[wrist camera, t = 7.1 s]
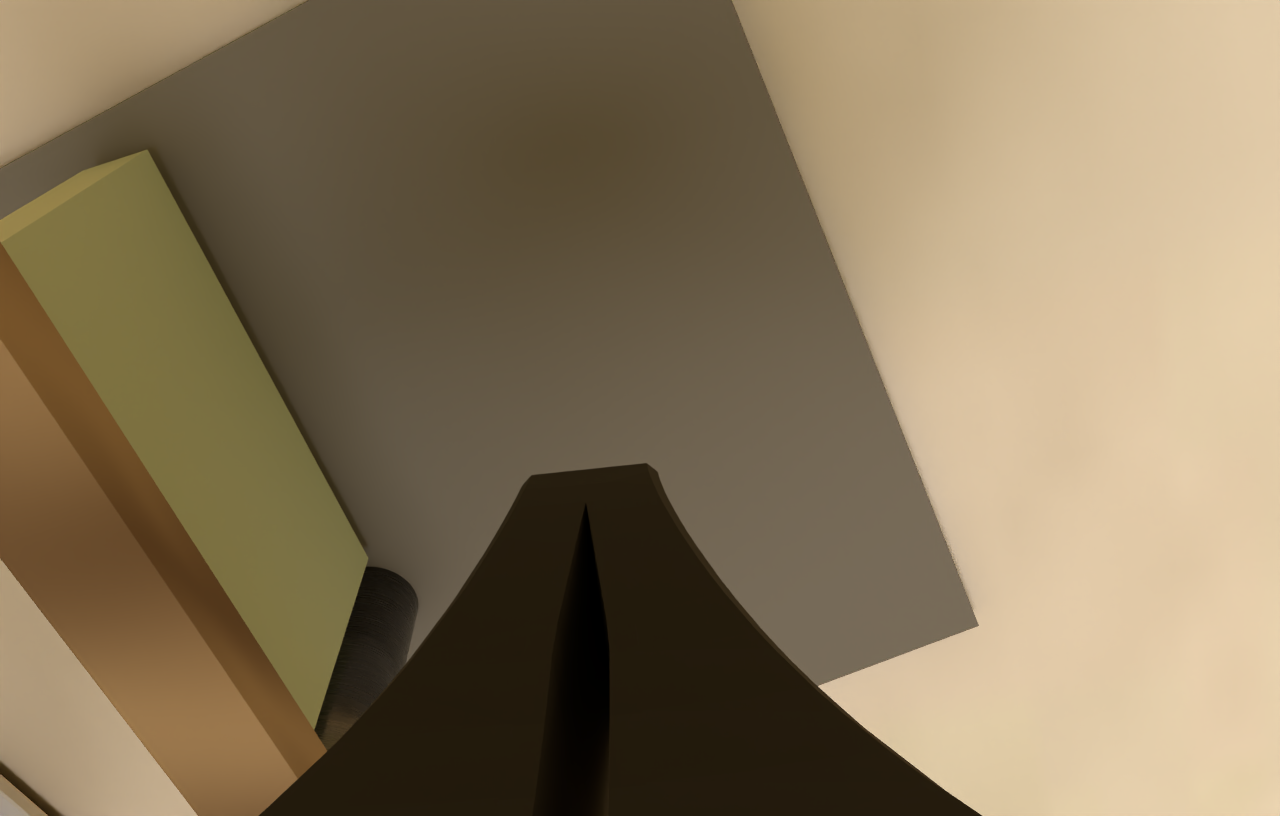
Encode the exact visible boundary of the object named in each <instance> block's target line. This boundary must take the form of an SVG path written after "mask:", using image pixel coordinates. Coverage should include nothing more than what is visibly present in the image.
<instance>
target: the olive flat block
mask: <svg viewBox="0 0 1280 816" xmlns="http://www.w3.org/2000/svg"><path fill="white" fill-rule="evenodd" d="M0 558H1V560H2V561H3V562H4V564H5V565H6V566H7V567H8V569H9V570H10V571H11V573H12V574H13V575H14V577H15V578H16V579H17V581H18V582H19V583H20V584H21V586H22V587H23V588H24V590H25V591H26V592H27V594H28V595H29V596H30V597H31V599H32V600H33V601H34V603H35V604H36V605H37V607H38V608H39V609H40V610H41V612H42V613H43V614H44V616H45V617H46V618H47V620H48V621H49V622H50V623H51V625H52V626H53V627H54V629H55V630H56V631H57V633H58V634H59V635H60V637H61V638H62V639H63V640H64V642H65V643H66V644H67V646H68V647H69V648H70V650H71V651H72V652H73V653H74V655H75V656H76V657H77V659H78V660H79V661H80V663H81V664H82V665H83V666H84V668H85V669H86V670H87V672H88V673H89V674H90V676H91V677H92V678H93V679H94V681H95V682H96V683H97V685H98V686H99V687H100V689H101V690H102V691H103V692H104V694H105V695H106V696H107V698H108V699H109V700H110V702H111V703H112V704H113V706H114V707H115V708H116V709H117V711H118V712H119V713H120V715H121V716H122V717H123V719H124V720H125V721H126V722H127V724H128V725H129V726H130V728H131V729H132V730H133V732H134V733H135V734H136V735H137V737H138V738H139V739H140V741H141V742H142V743H143V745H144V746H145V747H146V748H147V750H148V751H149V752H150V754H151V755H152V756H153V758H154V759H155V760H156V762H157V763H158V764H159V765H160V767H161V768H162V769H163V771H164V772H165V773H166V775H167V776H168V777H169V778H170V780H171V781H172V782H173V784H174V785H175V786H176V788H177V789H178V790H179V791H180V793H181V794H182V795H183V797H184V798H185V799H186V801H187V802H188V803H189V804H190V806H191V807H192V808H193V810H194V811H195V812H196V814H197V815H198V816H259V815H260V814H261V813H262V812H263V811H264V810H265V809H266V808H267V807H269V806H270V805H271V804H272V803H273V802H274V801H275V800H276V799H277V798H278V797H279V796H280V795H281V794H282V793H283V792H284V791H286V790H287V789H288V788H289V787H290V786H291V785H292V784H293V783H294V782H295V781H296V780H297V779H298V778H299V777H300V776H302V775H303V774H304V773H305V772H306V771H307V770H308V769H309V768H310V767H311V766H312V765H313V764H314V763H315V762H316V761H318V760H319V759H320V758H321V757H322V756H323V755H324V754H325V753H326V752H327V750H326V748H325V746H324V745H323V743H322V742H321V740H320V739H319V737H318V735H317V734H316V732H315V731H314V729H315V726H316V723H317V720H318V716H319V713H320V710H321V707H322V704H323V701H324V697H325V694H326V691H327V688H328V685H329V682H330V679H331V675H332V672H333V669H334V666H335V663H336V660H337V656H338V653H339V650H340V647H341V644H342V641H343V637H344V634H345V631H346V628H347V625H348V622H349V618H350V615H351V612H352V609H353V606H354V603H355V599H356V596H357V593H358V590H359V587H360V584H361V581H362V577H363V574H364V571H365V568H366V565H367V562H368V557H367V555H366V553H365V551H364V549H363V547H362V546H361V544H360V542H359V540H358V538H357V536H356V534H355V533H354V531H353V529H352V527H351V525H350V523H349V522H348V520H347V518H346V516H345V514H344V512H343V510H342V509H341V507H340V505H339V503H338V501H337V499H336V497H335V496H334V494H333V492H332V490H331V488H330V486H329V485H328V483H327V481H326V479H325V477H324V475H323V473H322V472H321V470H320V468H319V466H318V464H317V462H316V460H315V459H314V457H313V455H312V453H311V451H310V449H309V448H308V446H307V444H306V442H305V440H304V438H303V436H302V435H301V433H300V431H299V429H298V427H297V425H296V423H295V422H294V420H293V418H292V416H291V414H290V412H289V411H288V409H287V407H286V405H285V403H284V401H283V399H282V398H281V396H280V394H279V392H278V390H277V388H276V386H275V385H274V383H273V381H272V379H271V377H270V375H269V374H268V372H267V370H266V368H265V366H264V364H263V362H262V361H261V359H260V357H259V355H258V353H257V351H256V349H255V348H254V346H253V344H252V342H251V340H250V338H249V336H248V335H247V333H246V331H245V329H244V327H243V325H242V324H241V322H240V320H239V318H238V316H237V314H236V312H235V311H234V309H233V307H232V305H231V303H230V301H229V299H228V298H227V296H226V294H225V292H224V290H223V288H222V287H221V285H220V283H219V281H218V279H217V277H216V275H215V274H214V272H213V270H212V268H211V266H210V264H209V262H208V261H207V259H206V257H205V255H204V253H203V251H202V250H201V248H200V246H199V244H198V242H197V240H196V238H195V237H194V235H193V233H192V231H191V229H190V227H189V225H188V224H187V222H186V220H185V218H184V216H183V214H182V213H181V211H180V209H179V207H178V205H177V203H176V201H175V200H174V198H173V196H172V194H171V192H170V190H169V188H168V187H167V185H166V183H165V181H164V179H163V177H162V176H161V174H160V172H159V170H158V168H157V166H156V164H155V163H154V161H153V159H152V157H151V155H150V153H149V151H148V150H144V151H141V152H138V153H135V154H132V155H129V156H126V157H123V158H120V159H117V160H114V161H110V162H107V163H104V164H101V165H98V166H95V167H92V168H89V169H86V170H83V171H81V172H80V173H78V174H76V175H75V176H73V177H71V178H70V179H68V180H66V181H65V182H63V183H61V184H60V185H58V186H56V187H55V188H53V189H51V190H49V191H48V192H46V193H44V194H43V195H41V196H39V197H38V198H36V199H34V200H33V201H31V202H29V203H28V204H26V205H24V206H23V207H21V208H19V209H18V210H16V211H14V212H13V213H11V214H9V215H8V216H6V217H4V218H3V219H1V220H0Z"/></svg>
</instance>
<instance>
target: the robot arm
mask: <svg viewBox="0 0 1280 816" xmlns="http://www.w3.org/2000/svg"><path fill="white" fill-rule="evenodd" d="M0 816H48V815H47V814H46V813H45V812H44V811H42V810H41V809H40V808H39V807H38V806H37V805H35V804H34V803H33V802H32V801H31V800H30V799H29V798H27V797H26V796H25V795H24V794H23V793H22V792H20V791H19V790H18V789H17V788H16V787H15V786H14V785H12V784H11V783H10V782H9V781H8V780H7V779H5V778H4V777H3V776H2V775H1V774H0ZM259 816H982V815H980V814H979V813H977V812H976V811H974V810H973V809H972V808H970V807H969V806H967V805H966V804H964V803H963V802H961V801H960V800H958V799H957V798H955V797H954V796H952V795H951V794H949V793H948V792H947V791H945V790H944V789H943V788H941V787H940V786H939V785H937V784H936V783H935V782H934V781H932V780H931V779H930V778H928V777H927V776H926V775H925V774H923V773H922V772H921V771H919V770H918V769H917V768H915V767H914V766H913V765H912V764H910V763H909V762H908V761H906V760H905V759H904V758H903V757H901V756H900V755H899V754H897V753H896V752H895V751H894V750H892V749H891V748H890V747H888V746H887V745H886V744H884V743H883V742H882V741H881V740H879V739H878V738H877V737H875V736H874V735H873V734H872V733H870V732H869V731H868V730H866V729H865V728H864V727H863V726H862V725H860V724H859V723H858V722H857V721H856V720H855V719H853V718H852V717H851V716H850V715H849V714H848V713H847V712H846V711H844V710H843V709H842V708H841V707H840V706H839V705H838V704H837V703H836V702H834V701H833V700H832V699H831V698H830V697H829V696H828V695H827V694H825V693H824V692H823V691H822V690H821V689H820V688H819V687H818V686H817V685H816V684H815V683H814V682H813V681H812V680H811V679H810V678H809V677H808V676H807V675H806V674H805V673H803V672H802V671H801V670H800V669H799V668H798V667H797V666H796V665H795V664H794V663H793V662H792V661H791V660H790V659H789V658H788V657H787V656H786V655H785V654H784V652H783V651H782V650H781V649H780V648H779V647H778V646H777V645H776V644H775V643H774V642H773V641H772V640H771V639H770V638H769V636H768V635H767V634H766V633H765V632H764V631H763V630H762V629H761V628H760V626H759V625H758V624H757V623H756V622H755V621H754V619H753V618H752V617H751V616H750V615H749V613H748V612H747V611H746V610H745V609H744V608H743V606H742V605H741V604H740V603H739V602H738V601H737V599H736V598H735V597H734V596H733V594H732V593H731V592H730V590H729V589H728V588H727V587H726V585H725V584H724V583H723V582H722V580H721V579H720V578H719V576H718V575H717V573H716V572H715V571H714V569H713V568H712V566H711V565H710V564H709V562H708V561H707V560H706V558H705V557H704V555H703V554H702V553H701V551H700V550H699V548H698V547H697V546H696V544H695V543H694V541H693V540H692V538H691V536H690V535H689V533H688V532H687V530H686V529H685V527H684V525H683V524H682V522H681V520H680V519H679V517H678V515H677V514H676V512H675V510H674V508H673V506H672V505H671V503H670V501H669V499H668V497H667V495H666V493H665V491H664V488H663V486H662V483H661V481H660V478H659V474H658V471H656V470H655V469H654V468H652V467H651V466H650V465H649V464H647V463H642V464H632V465H622V466H613V467H603V468H594V469H584V470H574V471H565V472H555V473H546V474H536V475H531V476H530V477H529V478H528V479H527V481H526V482H525V483H524V484H523V485H522V487H521V489H520V491H519V493H518V495H517V497H516V499H515V501H514V502H513V504H512V506H511V508H510V510H509V512H508V514H507V515H506V517H505V519H504V521H503V522H502V524H501V526H500V528H499V529H498V531H497V533H496V534H495V536H494V538H493V539H492V541H491V543H490V544H489V546H488V548H487V550H486V551H485V553H484V554H483V556H482V557H481V559H480V560H479V562H478V564H477V565H476V567H475V568H474V570H473V571H472V573H471V574H470V576H469V577H468V579H467V580H466V582H465V583H464V585H463V587H462V588H461V590H460V591H459V593H458V594H457V596H456V597H455V599H454V600H453V601H452V603H451V604H450V606H449V607H448V609H447V610H446V611H445V613H444V614H443V615H442V617H441V618H440V619H439V621H438V622H437V623H436V625H435V626H434V627H433V629H432V630H431V631H430V633H429V634H428V635H427V637H426V638H425V639H424V641H423V642H422V643H421V645H420V646H419V647H418V649H417V650H416V651H415V653H414V654H413V655H412V657H411V658H410V659H409V660H408V662H407V663H406V664H405V665H404V667H403V668H402V669H401V670H400V671H399V673H398V674H397V675H396V676H395V677H394V679H393V680H392V681H391V682H390V683H389V685H388V686H387V687H386V688H385V689H384V690H383V692H382V693H381V694H380V695H379V696H378V697H377V699H376V700H375V701H374V702H373V703H372V704H371V705H370V706H369V707H368V709H367V710H366V711H365V712H364V713H363V714H362V715H361V716H360V717H359V718H358V719H357V721H356V722H355V723H354V724H353V725H352V726H351V727H350V728H349V729H348V730H347V731H346V733H345V734H344V735H343V736H342V737H341V738H340V739H339V740H338V741H337V742H336V743H335V744H334V745H333V746H332V747H331V748H330V749H329V750H328V751H327V752H326V753H325V754H324V755H323V756H322V757H321V758H320V759H319V760H318V761H316V762H315V763H314V764H313V765H312V766H311V767H310V768H309V769H308V770H307V771H306V772H305V773H304V774H303V775H302V776H300V777H299V778H298V779H297V780H296V781H295V782H294V783H293V784H292V785H291V786H290V787H289V788H288V789H287V790H286V791H284V792H283V793H282V794H281V795H280V796H279V797H278V798H277V799H276V800H275V801H274V802H273V803H272V804H271V805H270V806H269V807H267V808H266V809H265V810H264V811H263V812H262V813H261V814H260V815H259Z"/></svg>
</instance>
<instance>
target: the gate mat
mask: <svg viewBox="0 0 1280 816" xmlns="http://www.w3.org/2000/svg"><path fill="white" fill-rule="evenodd" d="M144 150H148V151H149V153H150V155H151V157H152V159H153V161H154V163H155V164H156V166H157V168H158V170H159V172H160V174H161V176H162V177H163V179H164V181H165V183H166V185H167V187H168V188H169V190H170V192H171V194H172V196H173V198H174V200H175V201H176V203H177V205H178V207H179V209H180V211H181V213H182V214H183V216H184V218H185V220H186V222H187V224H188V225H189V227H190V229H191V231H192V233H193V235H194V237H195V238H196V240H197V242H198V244H199V246H200V248H201V250H202V251H203V253H204V255H205V257H206V259H207V261H208V262H209V264H210V266H211V268H212V270H213V272H214V274H215V275H216V277H217V279H218V281H219V283H220V285H221V287H222V288H223V290H224V292H225V294H226V296H227V298H228V299H229V301H230V303H231V305H232V307H233V309H234V311H235V312H236V314H237V316H238V318H239V320H240V322H241V324H242V325H243V327H244V329H245V331H246V333H247V335H248V336H249V338H250V340H251V342H252V344H253V346H254V348H255V349H256V351H257V353H258V355H259V357H260V359H261V361H262V362H263V364H264V366H265V368H266V370H267V372H268V374H269V375H270V377H271V379H272V381H273V383H274V385H275V386H276V388H277V390H278V392H279V394H280V396H281V398H282V399H283V401H284V403H285V405H286V407H287V409H288V411H289V412H290V414H291V416H292V418H293V420H294V422H295V423H296V425H297V427H298V429H299V431H300V433H301V435H302V436H303V438H304V440H305V442H306V444H307V446H308V448H309V449H310V451H311V453H312V455H313V457H314V459H315V460H316V462H317V464H318V466H319V468H320V470H321V472H322V473H323V475H324V477H325V479H326V481H327V483H328V485H329V486H330V488H331V490H332V492H333V494H334V496H335V497H336V499H337V501H338V503H339V505H340V507H341V509H342V510H343V512H344V514H345V516H346V518H347V520H348V522H349V523H350V525H351V527H352V529H353V531H354V533H355V534H356V536H357V538H358V540H359V542H360V544H361V546H362V547H363V549H364V551H365V553H366V555H367V557H368V562H367V565H366V568H365V571H364V574H363V577H362V581H361V584H360V587H359V590H358V593H357V596H356V599H355V603H354V606H353V609H352V612H351V615H350V618H349V622H348V625H347V628H346V631H345V634H344V637H343V641H342V644H341V647H340V650H339V653H338V656H337V660H336V663H335V666H334V669H333V672H332V675H331V679H330V682H329V685H328V688H327V691H326V694H325V697H324V701H323V704H322V707H321V710H320V713H319V716H318V720H317V723H316V726H315V729H314V731H315V732H316V734H317V735H318V737H319V739H320V740H321V742H322V743H323V745H324V746H325V748H326V750H327V751H328V750H329V749H330V748H331V747H332V746H333V745H334V744H335V743H336V742H337V741H338V740H339V739H340V738H341V737H342V736H343V735H344V734H345V733H346V731H347V730H348V729H349V728H350V727H351V726H352V725H353V724H354V723H355V722H356V721H357V719H358V718H359V717H360V716H361V715H362V714H363V713H364V712H365V711H366V710H367V709H368V707H369V706H370V705H371V704H372V703H373V702H374V701H375V700H376V699H377V697H378V696H379V695H380V694H381V693H382V692H383V690H384V689H385V688H386V687H387V686H388V685H389V683H390V682H391V681H392V680H393V679H394V677H395V676H396V675H397V674H398V673H399V671H400V670H401V669H402V668H403V667H404V665H405V664H406V663H407V662H408V660H409V659H410V658H411V657H412V655H413V654H414V653H415V651H416V650H417V649H418V647H419V646H420V645H421V643H422V642H423V641H424V639H425V638H426V637H427V635H428V634H429V633H430V631H431V630H432V629H433V627H434V626H435V625H436V623H437V622H438V621H439V619H440V618H441V617H442V615H443V614H444V613H445V611H446V610H447V609H448V607H449V606H450V604H451V603H452V601H453V600H454V599H455V597H456V596H457V594H458V593H459V591H460V590H461V588H462V587H463V585H464V583H465V582H466V580H467V579H468V577H469V576H470V574H471V573H472V571H473V570H474V568H475V567H476V565H477V564H478V562H479V560H480V559H481V557H482V556H483V554H484V553H485V551H486V550H487V548H488V546H489V544H490V543H491V541H492V539H493V538H494V536H495V534H496V533H497V531H498V529H499V528H500V526H501V524H502V522H503V521H504V519H505V517H506V515H507V514H508V512H509V510H510V508H511V506H512V504H513V502H514V501H515V499H516V497H517V495H518V493H519V491H520V489H521V487H522V485H523V484H524V483H525V482H526V481H527V479H528V478H529V477H530V476H531V475H536V474H546V473H555V472H565V471H574V470H584V469H594V468H603V467H613V466H622V465H632V464H642V463H647V464H649V465H650V466H651V467H652V468H654V469H655V470H656V471H658V474H659V478H660V481H661V483H662V486H663V488H664V491H665V493H666V495H667V497H668V499H669V501H670V503H671V505H672V506H673V508H674V510H675V512H676V514H677V515H678V517H679V519H680V520H681V522H682V524H683V525H684V527H685V529H686V530H687V532H688V533H689V535H690V536H691V538H692V540H693V541H694V543H695V544H696V546H697V547H698V548H699V550H700V551H701V553H702V554H703V555H704V557H705V558H706V560H707V561H708V562H709V564H710V565H711V566H712V568H713V569H714V571H715V572H716V573H717V575H718V576H719V578H720V579H721V580H722V582H723V583H724V584H725V585H726V587H727V588H728V589H729V590H730V592H731V593H732V594H733V596H734V597H735V598H736V599H737V601H738V602H739V603H740V604H741V605H742V606H743V608H744V609H745V610H746V611H747V612H748V613H749V615H750V616H751V617H752V618H753V619H754V621H755V622H756V623H757V624H758V625H759V626H760V628H761V629H762V630H763V631H764V632H765V633H766V634H767V635H768V636H769V638H770V639H771V640H772V641H773V642H774V643H775V644H776V645H777V646H778V647H779V648H780V649H781V650H782V651H783V652H784V654H785V655H786V656H787V657H788V658H789V659H790V660H791V661H792V662H793V663H794V664H795V665H796V666H797V667H798V668H799V669H800V670H801V671H802V672H803V673H805V674H806V675H807V676H808V677H809V678H810V679H811V680H812V681H813V682H814V683H815V684H816V685H817V686H819V685H821V684H824V683H827V682H829V681H832V680H835V679H837V678H840V677H843V676H845V675H848V674H851V673H853V672H856V671H859V670H861V669H864V668H867V667H870V666H872V665H875V664H878V663H880V662H883V661H886V660H888V659H891V658H894V657H896V656H899V655H902V654H904V653H907V652H910V651H912V650H915V649H918V648H920V647H923V646H926V645H928V644H931V643H934V642H937V641H939V640H942V639H945V638H947V637H950V636H953V635H955V634H958V633H961V632H963V631H966V630H969V629H971V628H974V627H977V626H979V625H978V623H977V620H976V617H975V615H974V612H973V610H972V607H971V605H970V602H969V600H968V597H967V595H966V592H965V590H964V587H963V585H962V582H961V580H960V577H959V574H958V572H957V569H956V567H955V564H954V562H953V559H952V557H951V554H950V552H949V549H948V547H947V544H946V542H945V539H944V537H943V534H942V531H941V529H940V526H939V524H938V521H937V519H936V516H935V514H934V511H933V509H932V506H931V504H930V501H929V499H928V496H927V494H926V491H925V489H924V486H923V483H922V481H921V478H920V476H919V473H918V471H917V468H916V466H915V463H914V461H913V458H912V456H911V453H910V451H909V448H908V446H907V443H906V440H905V438H904V435H903V433H902V430H901V428H900V425H899V423H898V420H897V418H896V415H895V413H894V410H893V408H892V405H891V403H890V400H889V397H888V395H887V392H886V390H885V387H884V385H883V382H882V380H881V377H880V375H879V372H878V370H877V367H876V365H875V362H874V360H873V357H872V354H871V352H870V349H869V347H868V344H867V342H866V339H865V337H864V334H863V332H862V329H861V327H860V324H859V322H858V319H857V317H856V314H855V312H854V309H853V306H852V304H851V301H850V299H849V296H848V294H847V291H846V289H845V286H844V284H843V281H842V279H841V276H840V274H839V271H838V269H837V266H836V263H835V261H834V258H833V256H832V253H831V251H830V248H829V246H828V243H827V241H826V238H825V236H824V233H823V231H822V228H821V226H820V223H819V220H818V218H817V215H816V213H815V210H814V208H813V205H812V203H811V200H810V198H809V195H808V193H807V190H806V188H805V185H804V183H803V180H802V177H801V175H800V172H799V170H798V167H797V165H796V162H795V160H794V157H793V155H792V152H791V150H790V147H789V145H788V142H787V140H786V137H785V135H784V132H783V129H782V127H781V124H780V122H779V119H778V117H777V114H776V112H775V109H774V107H773V104H772V102H771V99H770V97H769V94H768V92H767V89H766V86H765V84H764V81H763V79H762V76H761V74H760V71H759V69H758V66H757V64H756V61H755V59H754V56H753V54H752V51H751V49H750V46H749V43H748V41H747V38H746V36H745V33H744V31H743V28H742V26H741V23H740V21H739V18H738V16H737V13H736V11H735V8H734V6H733V3H732V0H308V1H307V2H305V3H303V4H301V5H299V6H297V7H296V8H294V9H292V10H290V11H288V12H286V13H285V14H283V15H281V16H279V17H277V18H275V19H274V20H272V21H270V22H268V23H266V24H264V25H263V26H261V27H259V28H257V29H255V30H253V31H252V32H250V33H248V34H246V35H244V36H242V37H241V38H239V39H237V40H235V41H233V42H231V43H230V44H228V45H226V46H224V47H222V48H220V49H219V50H217V51H215V52H213V53H211V54H209V55H208V56H206V57H204V58H202V59H200V60H198V61H197V62H195V63H193V64H191V65H189V66H187V67H186V68H184V69H182V70H180V71H178V72H176V73H175V74H173V75H171V76H169V77H167V78H165V79H164V80H162V81H160V82H158V83H156V84H154V85H152V86H151V87H149V88H147V89H145V90H143V91H141V92H140V93H138V94H136V95H134V96H132V97H130V98H129V99H127V100H125V101H123V102H121V103H119V104H118V105H116V106H114V107H112V108H110V109H108V110H107V111H105V112H103V113H101V114H99V115H97V116H96V117H94V118H92V119H90V120H88V121H86V122H85V123H83V124H81V125H79V126H77V127H75V128H74V129H72V130H70V131H68V132H66V133H64V134H63V135H61V136H59V137H57V138H55V139H53V140H52V141H50V142H48V143H46V144H44V145H42V146H41V147H39V148H37V149H35V150H33V151H31V152H30V153H28V154H26V155H24V156H22V157H20V158H19V159H17V160H15V161H13V162H11V163H9V164H8V165H6V166H4V167H2V168H0V220H1V219H3V218H4V217H6V216H8V215H9V214H11V213H13V212H14V211H16V210H18V209H19V208H21V207H23V206H24V205H26V204H28V203H29V202H31V201H33V200H34V199H36V198H38V197H39V196H41V195H43V194H44V193H46V192H48V191H49V190H51V189H53V188H55V187H56V186H58V185H60V184H61V183H63V182H65V181H66V180H68V179H70V178H71V177H73V176H75V175H76V174H78V173H80V172H81V171H83V170H86V169H89V168H92V167H95V166H98V165H101V164H104V163H107V162H110V161H114V160H117V159H120V158H123V157H126V156H129V155H132V154H135V153H138V152H141V151H144Z"/></svg>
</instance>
